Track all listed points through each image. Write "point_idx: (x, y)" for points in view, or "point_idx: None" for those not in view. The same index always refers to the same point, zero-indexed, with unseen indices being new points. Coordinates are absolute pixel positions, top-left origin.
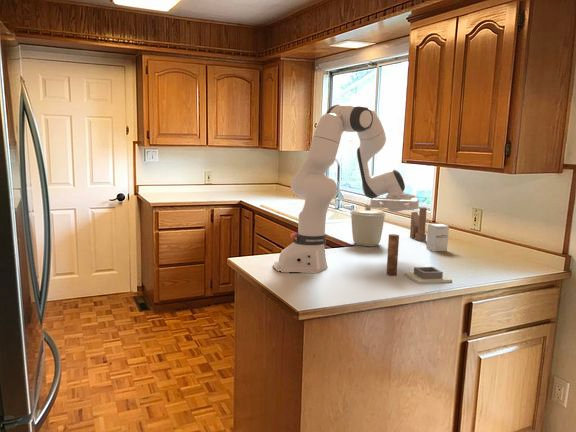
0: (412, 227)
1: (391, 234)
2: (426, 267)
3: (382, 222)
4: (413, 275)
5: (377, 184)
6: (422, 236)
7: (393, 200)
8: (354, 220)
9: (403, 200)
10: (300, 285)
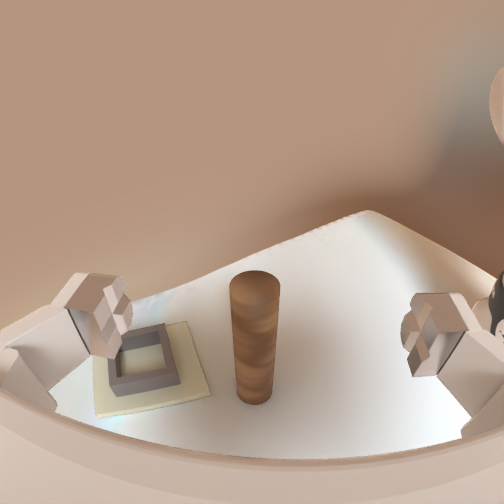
0: None
1: (266, 295)
2: (134, 375)
3: None
4: (186, 363)
5: None
6: None
7: (282, 461)
8: None
9: (8, 412)
10: (424, 267)
